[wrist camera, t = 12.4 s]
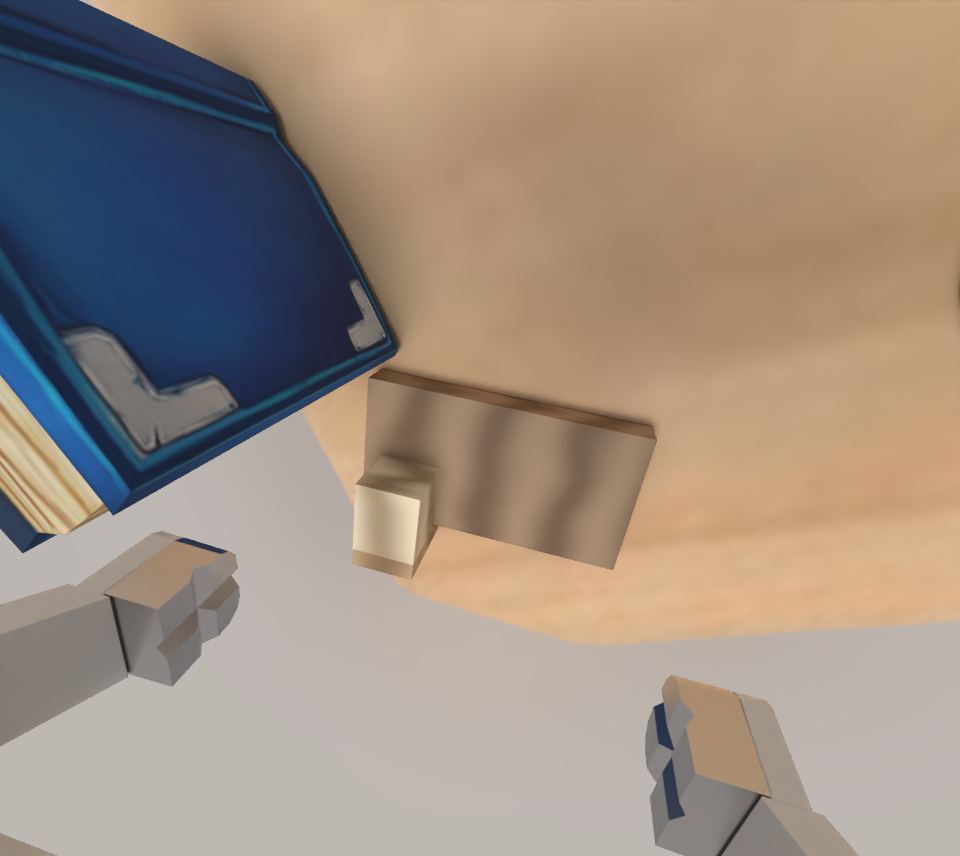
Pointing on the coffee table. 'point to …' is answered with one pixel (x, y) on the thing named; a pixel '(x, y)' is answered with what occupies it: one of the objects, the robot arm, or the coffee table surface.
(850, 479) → the coffee table surface
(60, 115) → the book
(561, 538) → the board
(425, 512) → the block
